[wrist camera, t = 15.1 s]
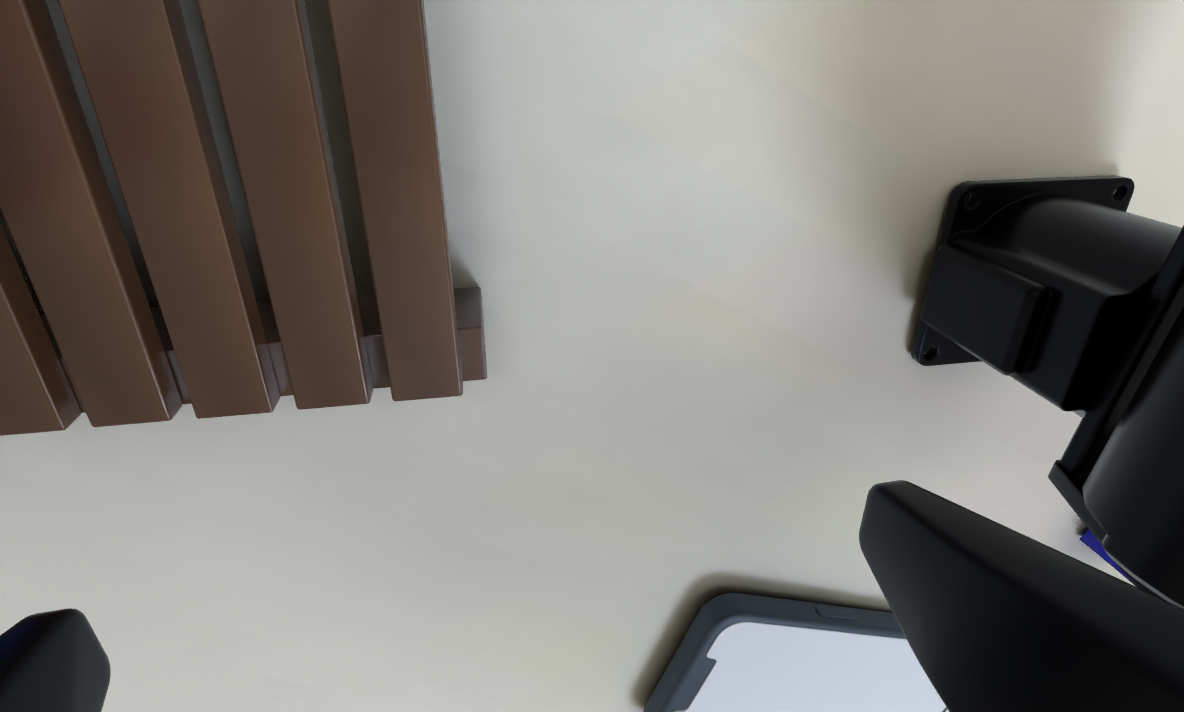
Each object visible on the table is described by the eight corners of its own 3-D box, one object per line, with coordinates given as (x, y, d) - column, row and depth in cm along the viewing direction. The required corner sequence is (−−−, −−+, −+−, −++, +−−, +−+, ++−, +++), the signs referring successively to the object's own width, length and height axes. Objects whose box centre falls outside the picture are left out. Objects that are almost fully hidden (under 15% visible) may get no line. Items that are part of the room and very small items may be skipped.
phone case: (983, 616, 32) (708, 579, 27) (1007, 643, 31) (722, 610, 26) (891, 729, 35) (631, 716, 30) (909, 758, 34) (640, 749, 29)
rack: (435, -251, 14) (416, -420, 9) (484, 334, 20) (490, 441, 15) (-567, -317, 11) (-1471, -617, 6) (-148, 379, 18) (-408, 529, 12)
